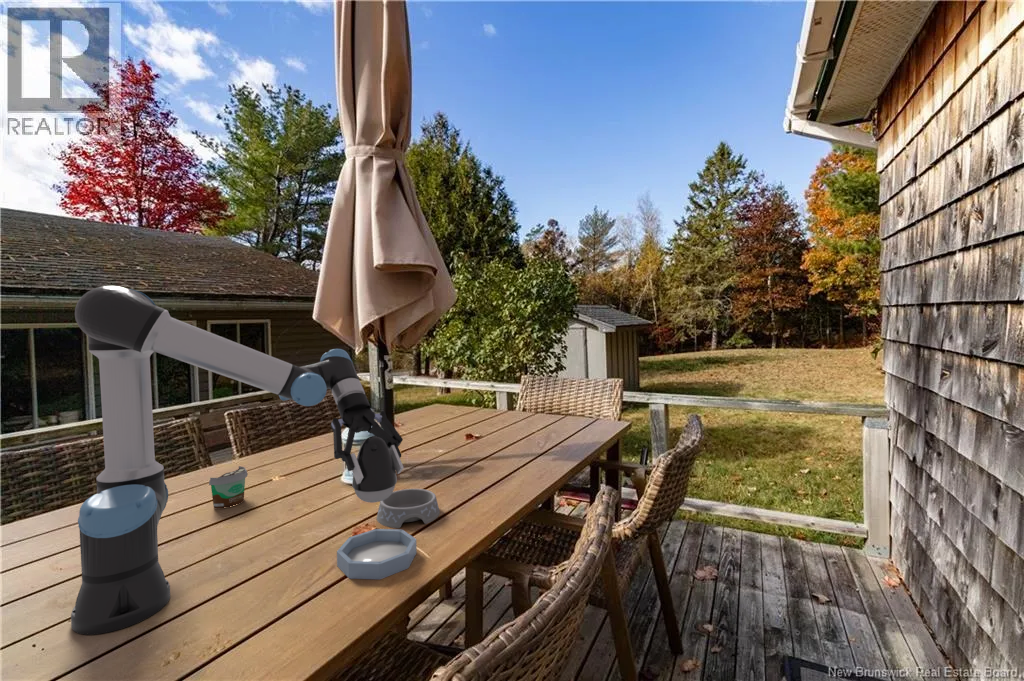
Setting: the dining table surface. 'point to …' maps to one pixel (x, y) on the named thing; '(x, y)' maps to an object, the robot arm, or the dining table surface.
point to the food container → (228, 488)
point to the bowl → (376, 554)
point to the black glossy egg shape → (375, 471)
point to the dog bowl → (408, 507)
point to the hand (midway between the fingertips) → (380, 475)
